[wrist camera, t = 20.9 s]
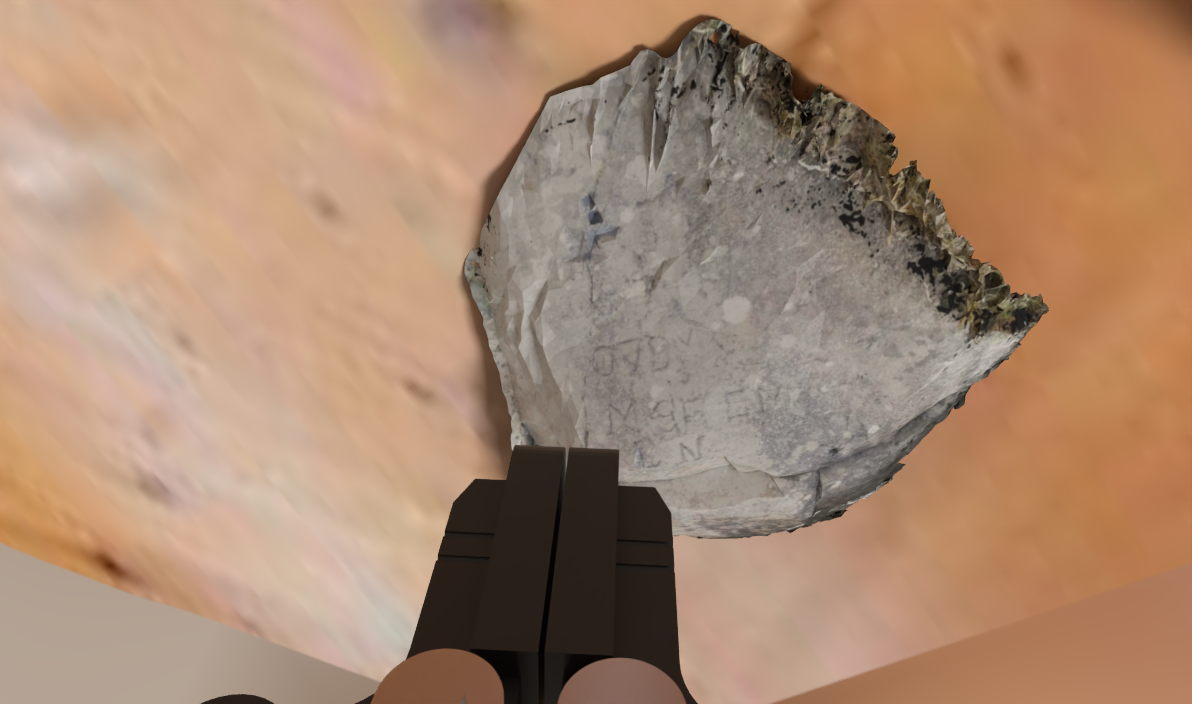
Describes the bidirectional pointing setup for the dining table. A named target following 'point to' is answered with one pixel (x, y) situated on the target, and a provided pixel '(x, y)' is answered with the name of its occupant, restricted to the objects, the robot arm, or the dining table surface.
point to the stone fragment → (731, 290)
